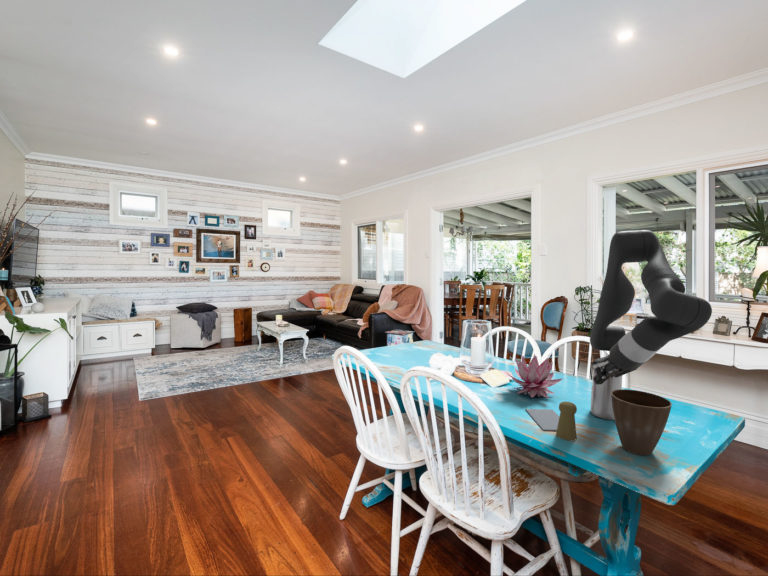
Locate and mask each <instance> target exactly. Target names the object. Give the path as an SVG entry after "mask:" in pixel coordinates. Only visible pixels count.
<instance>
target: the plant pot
mask: <svg viewBox="0 0 768 576" xmlns="http://www.w3.org/2000/svg"><path fill="white" fill-rule="evenodd" d="M611 397H612V407H613V414H614V419H615V420H614V423H615V427H616V431H617V435H618V438H619V441H620V443H621V446H622V448H623V449H624V450H625V451H627V452H629V453H631V454H635V455H639V456H649V455H650V456H651V455H652V454H653V452H654V450H655V448H656V447H657V445H658V444H659V441H660V440H661V437H662V435H663V433H664V431H665V428H666V425H667V424H668V419H669V417H670V413H671V410H672V406H673V404H672V402H671V401H670V400H669V399H667V398H665V397H663V396H661V395H658V394H655V393H651V392H646V391H642V390H635V389H626V388H625V389H620V390H614V391H612V392H611Z"/></svg>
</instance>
